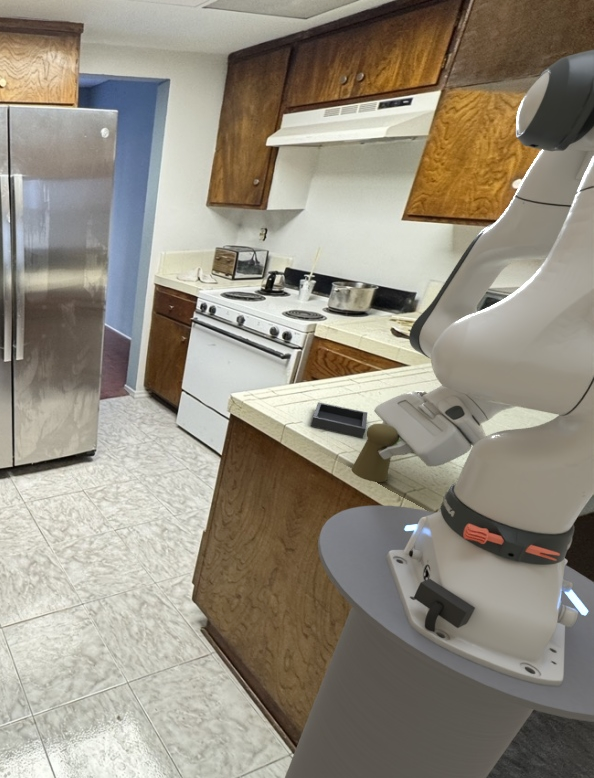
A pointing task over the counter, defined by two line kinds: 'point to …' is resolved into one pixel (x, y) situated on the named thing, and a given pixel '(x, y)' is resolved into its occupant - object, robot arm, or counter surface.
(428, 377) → the counter surface
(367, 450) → the olive brown pawn
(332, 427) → the dark tray
